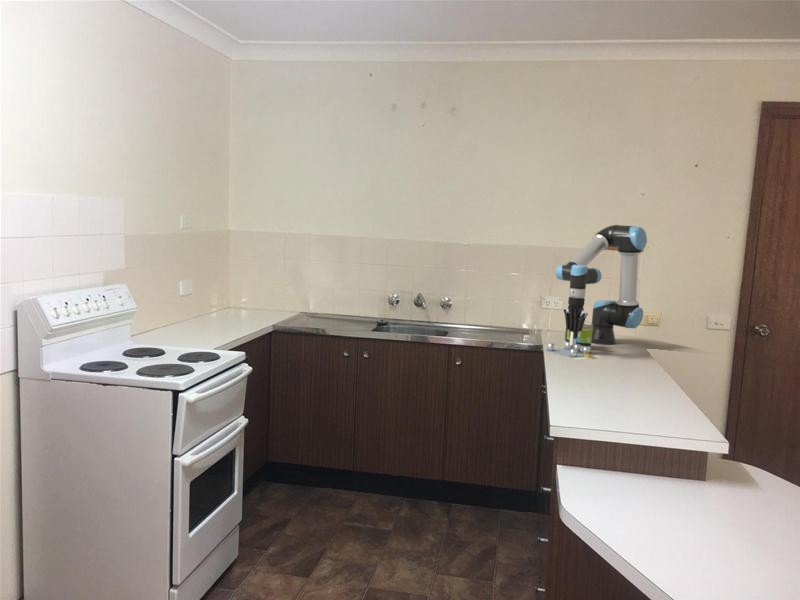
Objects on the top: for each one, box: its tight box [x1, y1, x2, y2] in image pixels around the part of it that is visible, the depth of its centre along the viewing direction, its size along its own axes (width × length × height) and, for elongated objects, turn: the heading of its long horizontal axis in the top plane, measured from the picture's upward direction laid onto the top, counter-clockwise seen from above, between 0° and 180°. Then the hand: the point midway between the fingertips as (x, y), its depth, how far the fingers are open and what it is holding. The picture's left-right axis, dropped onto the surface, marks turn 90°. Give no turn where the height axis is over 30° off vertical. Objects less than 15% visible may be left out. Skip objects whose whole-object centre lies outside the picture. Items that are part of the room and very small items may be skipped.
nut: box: [582, 351, 594, 359], centre depth 316 cm, size 4×5×2 cm
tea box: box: [564, 320, 593, 351], centre depth 341 cm, size 15×10×15 cm, turn 1°
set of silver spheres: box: [546, 341, 591, 358], centre depth 324 cm, size 15×17×4 cm
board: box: [543, 347, 602, 361], centre depth 323 cm, size 18×22×1 cm
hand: (572, 344), depth 324 cm, fingers closed
